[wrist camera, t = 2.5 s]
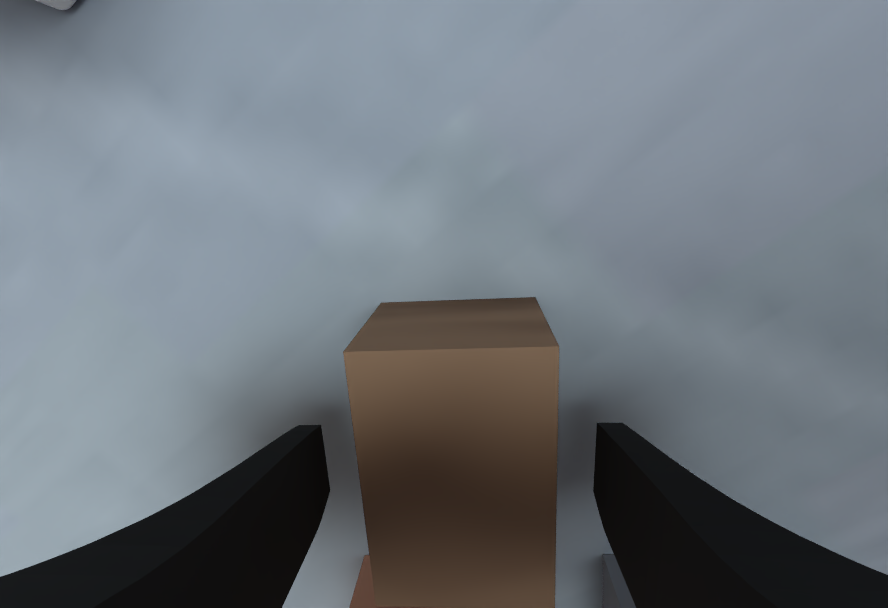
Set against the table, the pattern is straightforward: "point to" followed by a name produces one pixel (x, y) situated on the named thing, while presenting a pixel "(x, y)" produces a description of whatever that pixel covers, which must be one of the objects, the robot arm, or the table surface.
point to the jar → (58, 3)
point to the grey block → (614, 585)
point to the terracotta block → (367, 589)
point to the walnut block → (457, 451)
